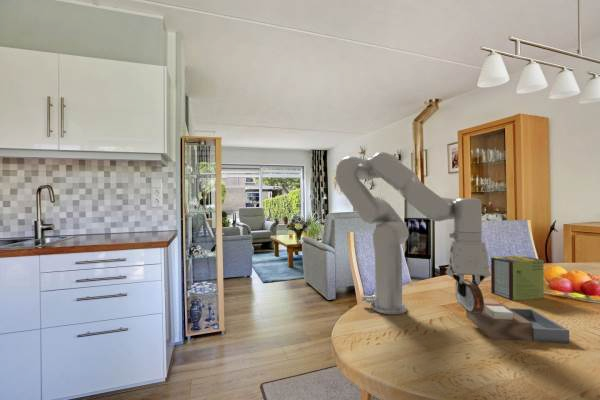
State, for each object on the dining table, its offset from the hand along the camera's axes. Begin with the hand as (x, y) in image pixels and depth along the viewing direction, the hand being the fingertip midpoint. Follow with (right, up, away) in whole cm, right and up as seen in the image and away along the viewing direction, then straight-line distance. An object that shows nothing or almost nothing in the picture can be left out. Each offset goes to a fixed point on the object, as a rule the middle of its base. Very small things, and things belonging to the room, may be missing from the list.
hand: (467, 295), depth 92 cm
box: (+18, -10, -2) cm, 21 cm away
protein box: (+37, -10, +29) cm, 48 cm away
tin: (0, -4, 0) cm, 4 cm away
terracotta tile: (+8, -5, +3) cm, 9 cm away
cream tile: (+7, -5, -4) cm, 9 cm away
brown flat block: (+8, -10, -1) cm, 13 cm away
